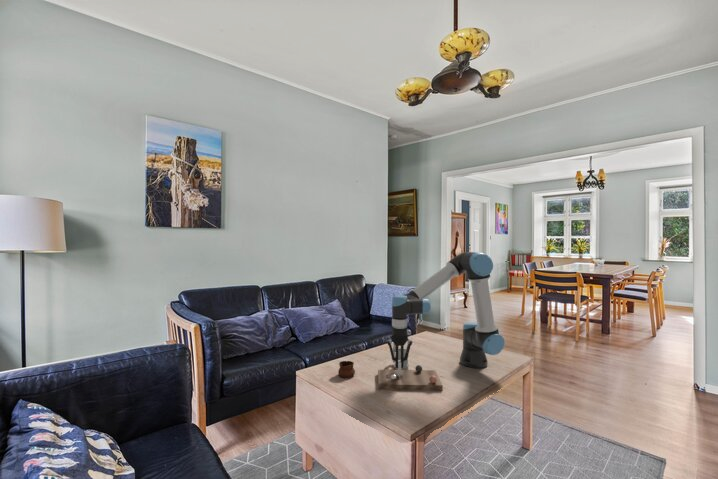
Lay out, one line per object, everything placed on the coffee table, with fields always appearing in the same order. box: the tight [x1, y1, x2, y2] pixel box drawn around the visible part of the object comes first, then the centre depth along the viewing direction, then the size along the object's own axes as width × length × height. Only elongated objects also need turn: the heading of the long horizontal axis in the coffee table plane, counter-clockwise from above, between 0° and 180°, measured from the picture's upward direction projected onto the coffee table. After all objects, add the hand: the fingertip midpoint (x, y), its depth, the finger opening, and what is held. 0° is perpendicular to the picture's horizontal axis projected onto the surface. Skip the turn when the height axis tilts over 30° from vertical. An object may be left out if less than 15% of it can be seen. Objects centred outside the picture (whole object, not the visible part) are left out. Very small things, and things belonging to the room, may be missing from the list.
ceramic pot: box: [337, 360, 356, 379], centre depth 179 cm, size 18×18×7 cm
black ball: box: [414, 364, 423, 372], centre depth 177 cm, size 4×4×4 cm
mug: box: [392, 343, 409, 370], centre depth 191 cm, size 8×12×12 cm, turn 36°
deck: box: [377, 369, 444, 392], centre depth 171 cm, size 30×18×2 cm, turn 88°
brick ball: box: [429, 375, 437, 383], centre depth 164 cm, size 4×4×4 cm
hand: (399, 374), depth 171 cm, fingers closed
